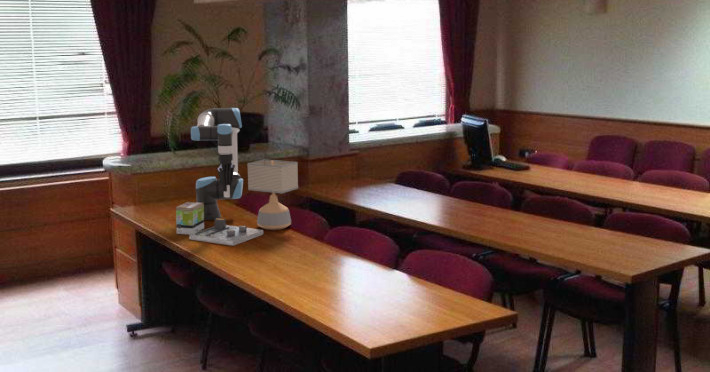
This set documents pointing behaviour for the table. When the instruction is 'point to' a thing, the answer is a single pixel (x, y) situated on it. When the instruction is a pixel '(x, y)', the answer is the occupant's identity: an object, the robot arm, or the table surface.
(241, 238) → the console
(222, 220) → the cap
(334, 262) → the table surface
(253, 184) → the desk lamp
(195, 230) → the tea box
